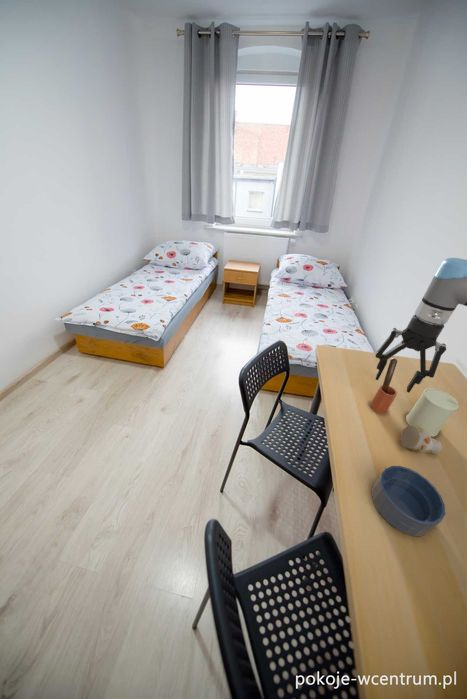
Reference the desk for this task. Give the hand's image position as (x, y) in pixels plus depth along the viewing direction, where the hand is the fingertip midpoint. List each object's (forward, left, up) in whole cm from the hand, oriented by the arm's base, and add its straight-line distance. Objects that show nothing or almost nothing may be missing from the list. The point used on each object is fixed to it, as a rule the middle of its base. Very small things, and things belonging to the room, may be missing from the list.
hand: (392, 383), depth 86 cm
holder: (0, 0, -11) cm, 11 cm away
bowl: (-9, +32, -11) cm, 35 cm away
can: (-13, -1, -11) cm, 17 cm away
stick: (0, 0, -10) cm, 10 cm away
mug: (-12, +10, -11) cm, 19 cm away
